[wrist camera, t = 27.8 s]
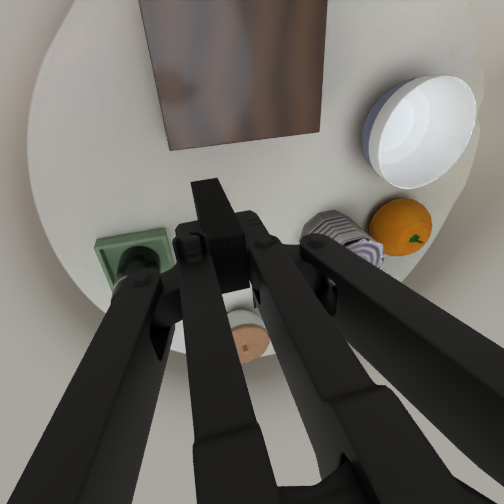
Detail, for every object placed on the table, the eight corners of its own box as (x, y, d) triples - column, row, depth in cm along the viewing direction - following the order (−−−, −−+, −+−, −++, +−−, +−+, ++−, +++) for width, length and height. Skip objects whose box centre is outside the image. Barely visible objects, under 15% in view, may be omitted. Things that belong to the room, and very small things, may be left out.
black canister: (125, 282, 56) (118, 325, 47) (113, 249, 52) (103, 290, 43) (165, 274, 57) (165, 315, 48) (156, 242, 53) (155, 280, 44)
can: (344, 199, 58) (381, 228, 49) (356, 242, 65) (390, 275, 55) (291, 226, 59) (317, 261, 49) (308, 267, 65) (334, 304, 56)
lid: (325, -15, 34) (328, -17, 34) (316, 130, 43) (319, 132, 42) (137, -8, 31) (136, -10, 30) (169, 149, 39) (169, 151, 39)
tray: (117, 290, 57) (115, 299, 55) (96, 239, 51) (93, 247, 48) (177, 278, 59) (178, 287, 57) (165, 228, 52) (165, 235, 50)
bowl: (359, 67, 46) (400, 69, 38) (444, 76, 50) (496, 80, 43) (335, 170, 55) (365, 189, 47) (409, 171, 59) (448, 189, 51)
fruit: (392, 182, 59) (429, 202, 51) (423, 209, 65) (460, 232, 57) (351, 229, 63) (379, 255, 55) (383, 251, 68) (413, 278, 60)
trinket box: (237, 342, 73) (246, 376, 65) (203, 325, 67) (208, 360, 59) (269, 313, 70) (282, 345, 62) (236, 293, 64) (246, 325, 57)
